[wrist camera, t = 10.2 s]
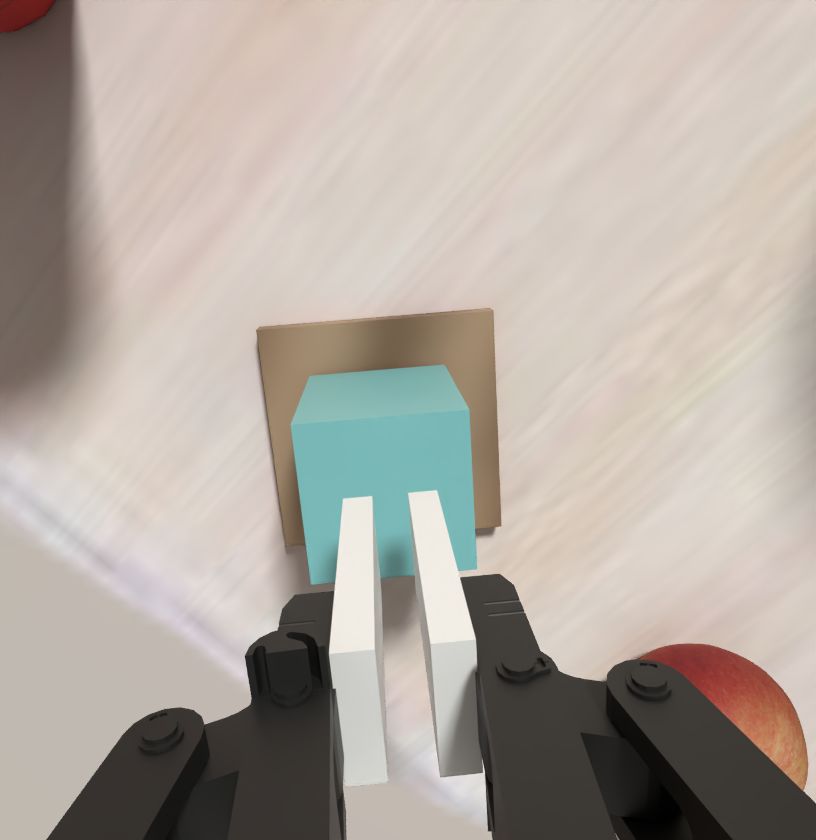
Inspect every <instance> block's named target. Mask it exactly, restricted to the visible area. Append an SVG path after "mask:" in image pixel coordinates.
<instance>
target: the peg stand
mask: <svg viewBox="0 0 816 840" xmlns="http://www.w3.org/2000/svg"><path fill="white" fill-rule="evenodd" d="M256 332H257V339H258V346H259V354H260V361H261V368H262V376H263V383H264V390H265V398H266V405H267V412H268V419H269V427H270V434H271V441H272V449H273V456H274V463H275V470H276V478H277V485H278V492H279V500H280V507H281V514H282V521H283V529H284V536H285V543H286V546H294V545H305V544H306V542H305V534H304V526H303V519H302V511H301V503H300V495H299V487H298V479H297V471H296V464H295V456H294V448H293V440H292V432H291V422H292V420H293V417H294V415H295V412H296V409H297V407H298V404H299V402H300V399H301V397H302V394H303V391H304V389H305V386H306V384H307V381H308V378H309V376H313V375H325V374H337V373H349V372H361V371H373V370H385V369H397V368H409V367H421V366H433V365H445V366H446V368H447V370H448V372H449V373H450V375H451V377H452V379H453V381H454V382H455V384H456V386H457V388H458V390H459V392H460V393H461V395H462V397H463V399H464V401H465V402H466V404H467V406H468V408H469V413H470V433H471V454H472V474H473V495H474V515H475V529H478V528H489V527H499V526H501V505H500V478H499V452H498V425H497V399H496V372H495V346H494V319H493V310H491V309H490V308H487V309H475V310H463V311H451V312H438V313H426V314H414V315H401V316H389V317H377V318H364V319H352V320H340V321H328V322H315V323H303V324H291V325H278V326H266V327H259V328H258V329H257V330H256Z"/></svg>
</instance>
